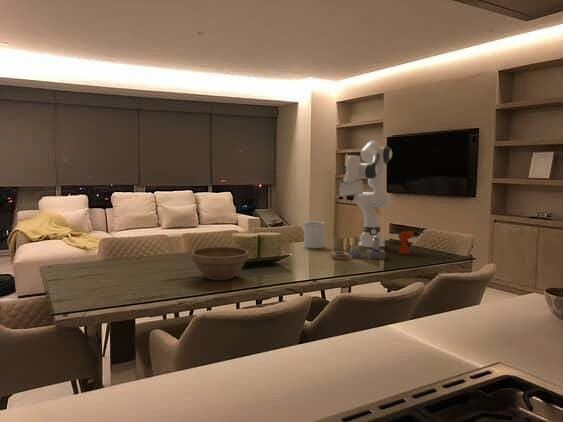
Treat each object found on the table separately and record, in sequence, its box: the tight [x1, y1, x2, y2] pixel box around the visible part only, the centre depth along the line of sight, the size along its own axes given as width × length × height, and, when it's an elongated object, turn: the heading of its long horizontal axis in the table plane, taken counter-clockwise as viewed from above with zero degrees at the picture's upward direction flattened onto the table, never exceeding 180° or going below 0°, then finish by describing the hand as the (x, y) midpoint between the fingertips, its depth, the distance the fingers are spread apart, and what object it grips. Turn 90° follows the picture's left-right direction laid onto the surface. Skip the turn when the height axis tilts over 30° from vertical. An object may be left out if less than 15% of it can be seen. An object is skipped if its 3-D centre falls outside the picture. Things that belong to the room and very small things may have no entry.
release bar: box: [349, 245, 360, 257], centre depth 293 cm, size 4×5×6 cm
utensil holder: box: [303, 221, 325, 249], centre depth 325 cm, size 15×15×18 cm
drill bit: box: [372, 236, 380, 252], centre depth 286 cm, size 4×4×14 cm
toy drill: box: [398, 230, 425, 255], centre depth 302 cm, size 5×19×15 cm, turn 103°
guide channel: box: [347, 252, 365, 260], centre depth 289 cm, size 14×8×1 cm, turn 1°
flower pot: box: [190, 246, 250, 281], centre depth 230 cm, size 28×28×13 cm
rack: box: [330, 251, 350, 260], centre depth 284 cm, size 10×10×3 cm
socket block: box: [365, 249, 387, 260], centre depth 286 cm, size 10×10×4 cm
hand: (350, 202), depth 286 cm, fingers open, 8 cm apart
